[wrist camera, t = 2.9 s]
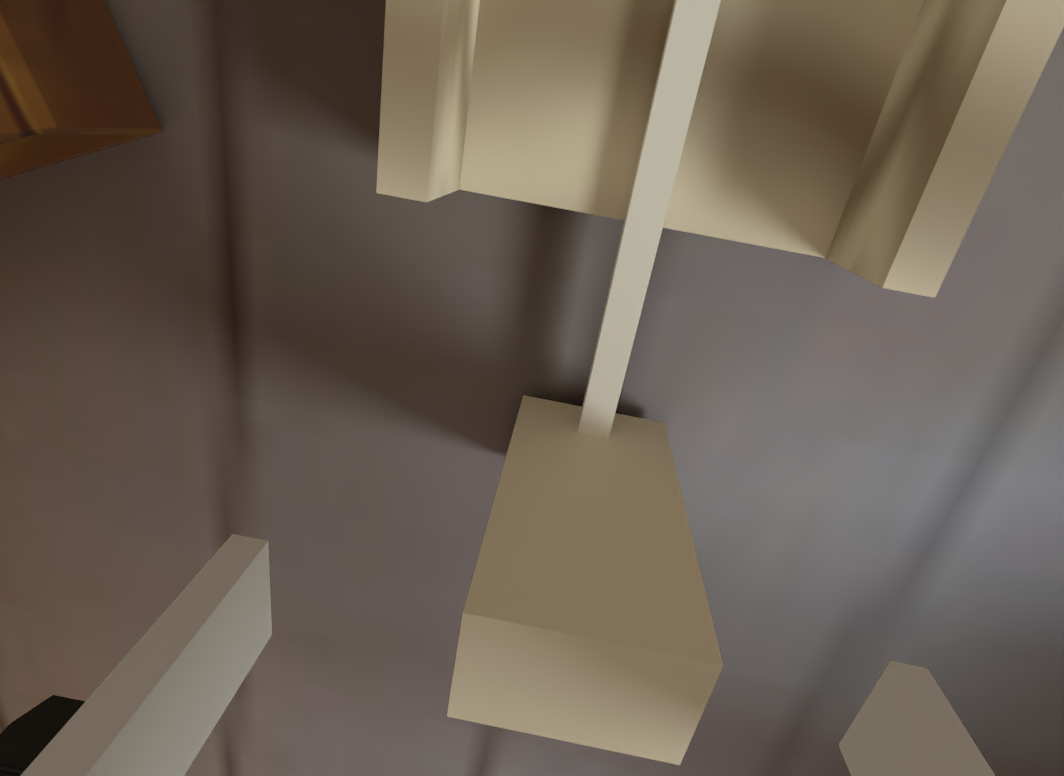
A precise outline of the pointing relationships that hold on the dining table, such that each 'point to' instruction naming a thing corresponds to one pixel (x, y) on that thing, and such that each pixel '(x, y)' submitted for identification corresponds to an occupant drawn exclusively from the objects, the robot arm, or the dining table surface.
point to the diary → (65, 84)
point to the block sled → (599, 518)
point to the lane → (725, 116)
